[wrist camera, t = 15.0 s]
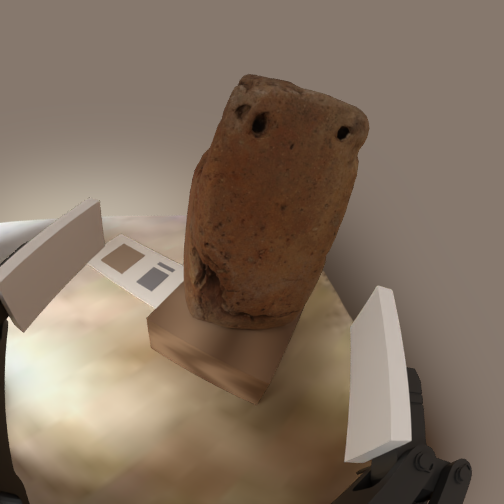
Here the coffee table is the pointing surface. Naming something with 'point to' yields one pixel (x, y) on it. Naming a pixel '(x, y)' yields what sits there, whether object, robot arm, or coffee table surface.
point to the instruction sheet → (138, 269)
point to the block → (268, 202)
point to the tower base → (218, 348)
